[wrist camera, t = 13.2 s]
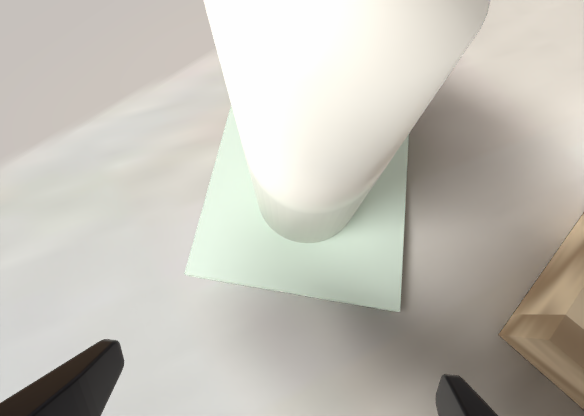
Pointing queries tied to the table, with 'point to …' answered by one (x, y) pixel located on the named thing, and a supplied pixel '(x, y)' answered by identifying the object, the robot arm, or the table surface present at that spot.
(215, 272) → the pad
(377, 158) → the white tall cylinder
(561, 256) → the collar
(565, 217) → the table surface
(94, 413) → the robot arm
